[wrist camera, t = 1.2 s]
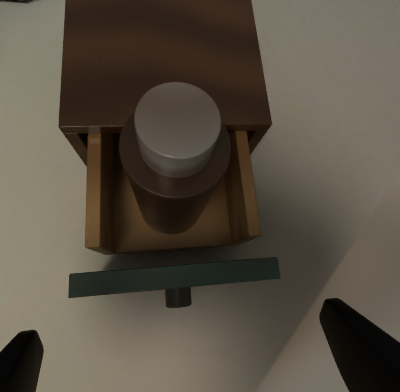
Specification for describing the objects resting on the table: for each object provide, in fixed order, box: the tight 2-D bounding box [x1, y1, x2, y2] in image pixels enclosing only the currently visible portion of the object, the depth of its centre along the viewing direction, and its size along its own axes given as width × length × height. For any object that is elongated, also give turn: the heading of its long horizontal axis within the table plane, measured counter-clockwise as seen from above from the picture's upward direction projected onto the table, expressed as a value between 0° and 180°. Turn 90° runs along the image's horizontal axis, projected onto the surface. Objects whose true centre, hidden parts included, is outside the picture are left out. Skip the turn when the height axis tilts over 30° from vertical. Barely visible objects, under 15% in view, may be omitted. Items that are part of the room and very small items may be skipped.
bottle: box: [119, 82, 231, 235], centre depth 15 cm, size 5×5×12 cm
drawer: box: [68, 131, 280, 308], centre depth 19 cm, size 15×11×6 cm
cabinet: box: [59, 0, 272, 166], centre depth 22 cm, size 15×13×8 cm
